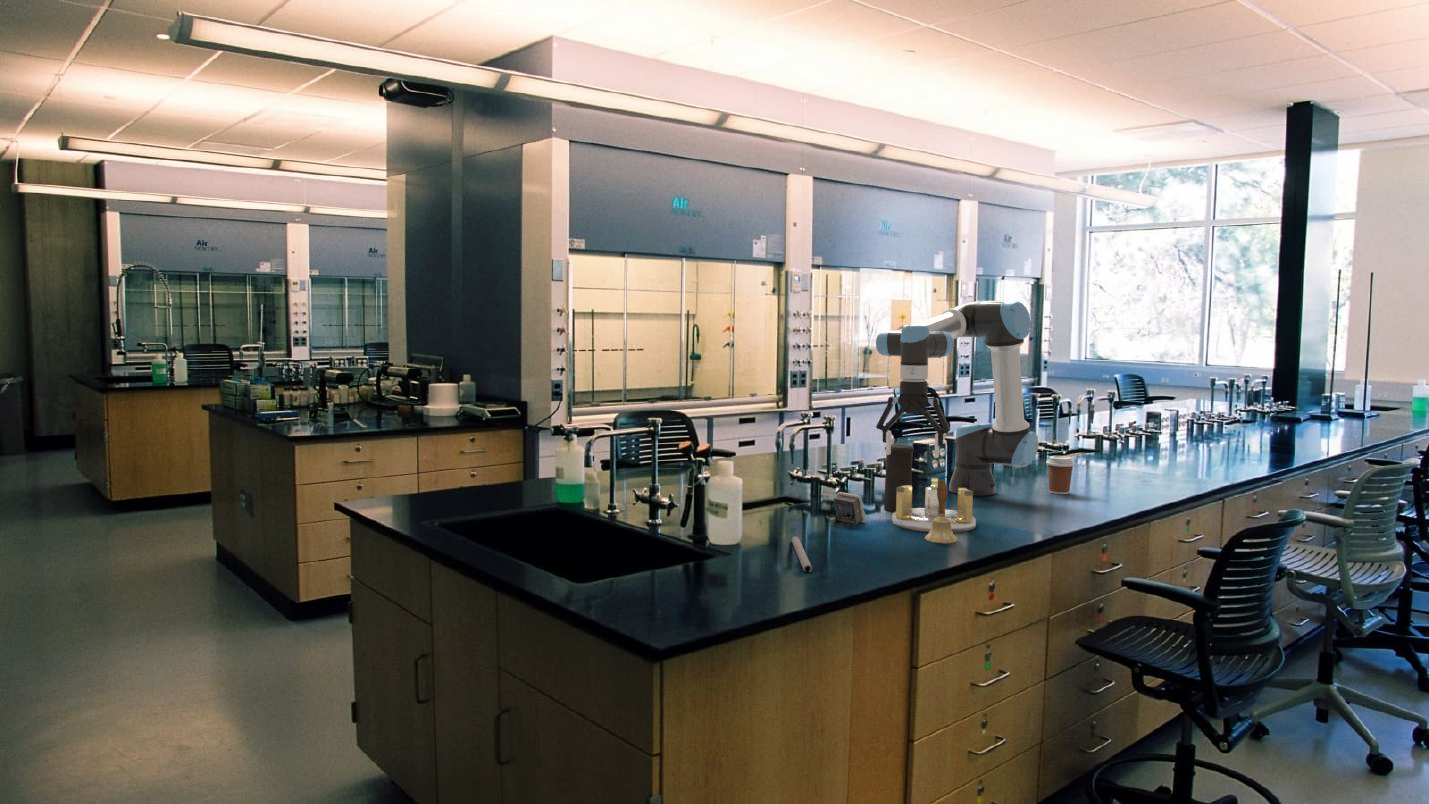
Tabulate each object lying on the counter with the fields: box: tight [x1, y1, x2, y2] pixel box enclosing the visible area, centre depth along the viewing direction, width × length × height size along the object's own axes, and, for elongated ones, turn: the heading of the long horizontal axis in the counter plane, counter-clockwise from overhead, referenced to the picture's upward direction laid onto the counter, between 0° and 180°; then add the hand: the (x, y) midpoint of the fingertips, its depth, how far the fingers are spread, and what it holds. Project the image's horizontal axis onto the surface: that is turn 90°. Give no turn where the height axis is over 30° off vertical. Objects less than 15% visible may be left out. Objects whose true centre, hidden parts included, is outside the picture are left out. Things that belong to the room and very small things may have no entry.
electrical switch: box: [833, 491, 866, 525], centre depth 257 cm, size 8×5×8 cm, turn 44°
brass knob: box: [930, 477, 939, 485], centre depth 264 cm, size 6×4×9 cm
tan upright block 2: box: [956, 488, 974, 523], centre depth 248 cm, size 6×4×9 cm
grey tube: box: [791, 536, 813, 573], centre depth 218 cm, size 2×27×2 cm, turn 1°
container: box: [883, 443, 915, 513], centre depth 273 cm, size 9×9×20 cm
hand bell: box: [924, 478, 958, 545], centre depth 236 cm, size 8×8×16 cm
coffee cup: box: [1045, 455, 1076, 495], centre depth 304 cm, size 9×9×12 cm
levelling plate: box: [891, 484, 977, 534], centre depth 255 cm, size 23×23×11 cm
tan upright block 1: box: [896, 485, 913, 519], centre depth 252 cm, size 6×4×9 cm
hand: (912, 455), depth 253 cm, fingers open, 13 cm apart
